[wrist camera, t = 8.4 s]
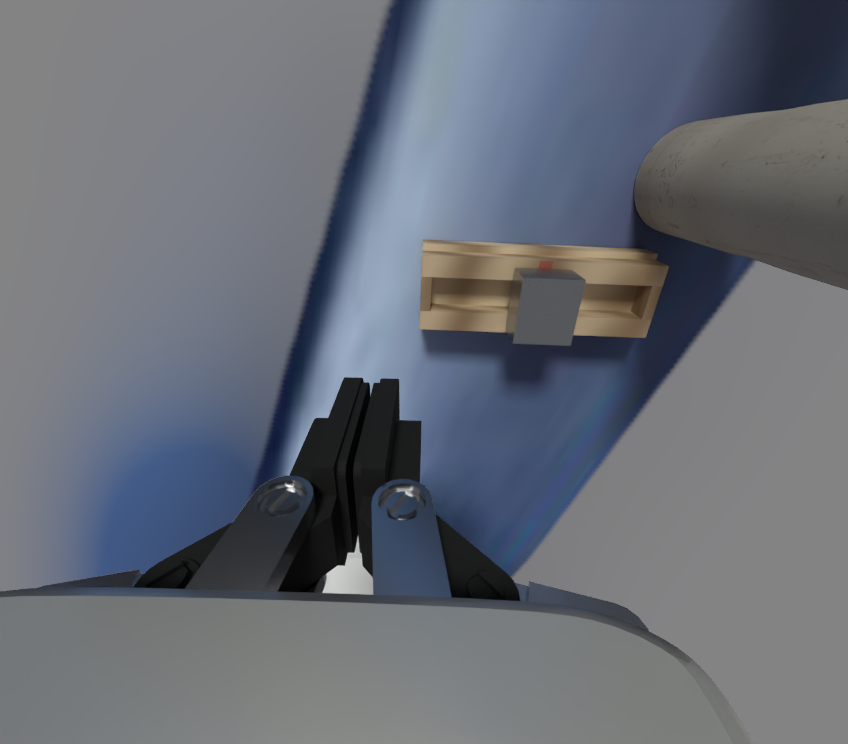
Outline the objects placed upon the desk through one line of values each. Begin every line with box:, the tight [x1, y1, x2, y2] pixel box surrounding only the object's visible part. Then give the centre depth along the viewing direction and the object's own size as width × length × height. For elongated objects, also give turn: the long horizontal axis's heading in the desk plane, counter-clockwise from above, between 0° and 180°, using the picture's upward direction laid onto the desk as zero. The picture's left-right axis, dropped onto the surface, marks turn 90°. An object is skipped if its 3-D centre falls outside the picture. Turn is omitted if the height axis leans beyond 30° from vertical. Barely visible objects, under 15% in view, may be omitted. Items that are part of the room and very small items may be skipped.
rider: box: [506, 268, 586, 346], centre depth 31 cm, size 4×5×5 cm
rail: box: [420, 240, 669, 338], centre depth 33 cm, size 19×7×4 cm, turn 88°
